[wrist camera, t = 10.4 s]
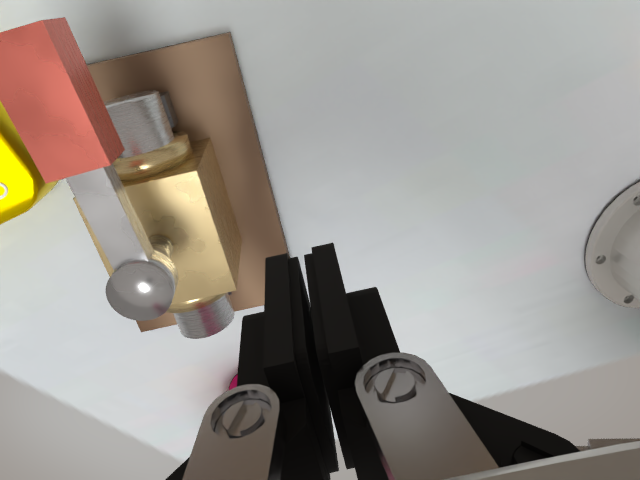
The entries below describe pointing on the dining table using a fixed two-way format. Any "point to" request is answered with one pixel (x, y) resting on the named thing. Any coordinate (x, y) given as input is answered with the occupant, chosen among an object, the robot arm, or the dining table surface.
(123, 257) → the valve lever
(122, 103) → the ball valve
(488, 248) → the dining table surface
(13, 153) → the element tile
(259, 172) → the valve board
